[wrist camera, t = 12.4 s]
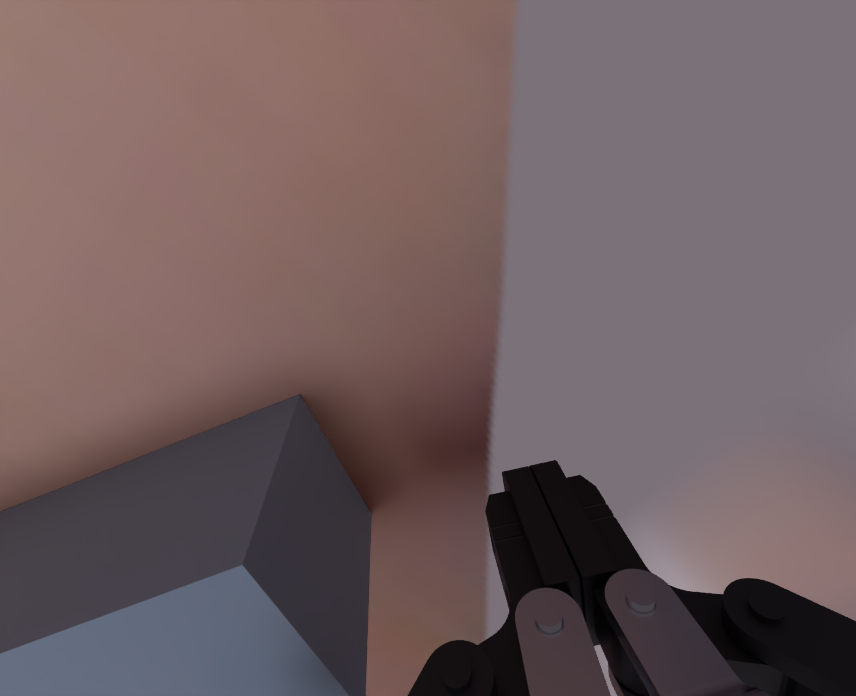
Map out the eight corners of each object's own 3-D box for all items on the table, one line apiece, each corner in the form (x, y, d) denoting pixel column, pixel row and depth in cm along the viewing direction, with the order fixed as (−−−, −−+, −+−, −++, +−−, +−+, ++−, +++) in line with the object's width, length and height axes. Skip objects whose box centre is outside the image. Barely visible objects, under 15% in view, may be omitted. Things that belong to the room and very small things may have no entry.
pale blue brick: (371, 510, 15) (365, 714, 10) (59, 625, 16) (-107, 872, 11) (300, 391, 13) (241, 565, 8) (-53, 529, 14) (-329, 774, 9)
